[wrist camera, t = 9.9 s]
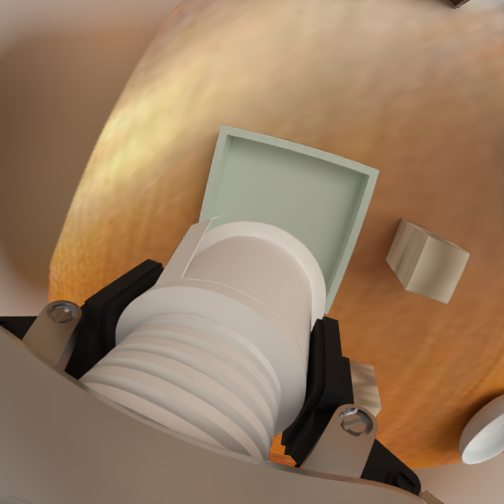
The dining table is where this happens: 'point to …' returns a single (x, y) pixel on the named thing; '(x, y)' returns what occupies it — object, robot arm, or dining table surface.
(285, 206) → the tray
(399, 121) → the dining table surface
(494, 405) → the cereal bowl
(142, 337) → the downlight
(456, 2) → the food container
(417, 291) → the maple block
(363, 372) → the maple block
